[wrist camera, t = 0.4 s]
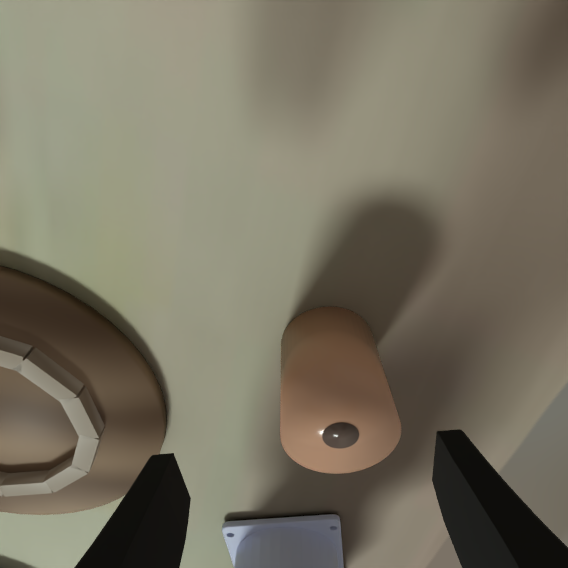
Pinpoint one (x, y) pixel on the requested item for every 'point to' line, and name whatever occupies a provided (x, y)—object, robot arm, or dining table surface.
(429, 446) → the dining table surface
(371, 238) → the dining table surface
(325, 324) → the terracotta bead
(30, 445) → the ring board
